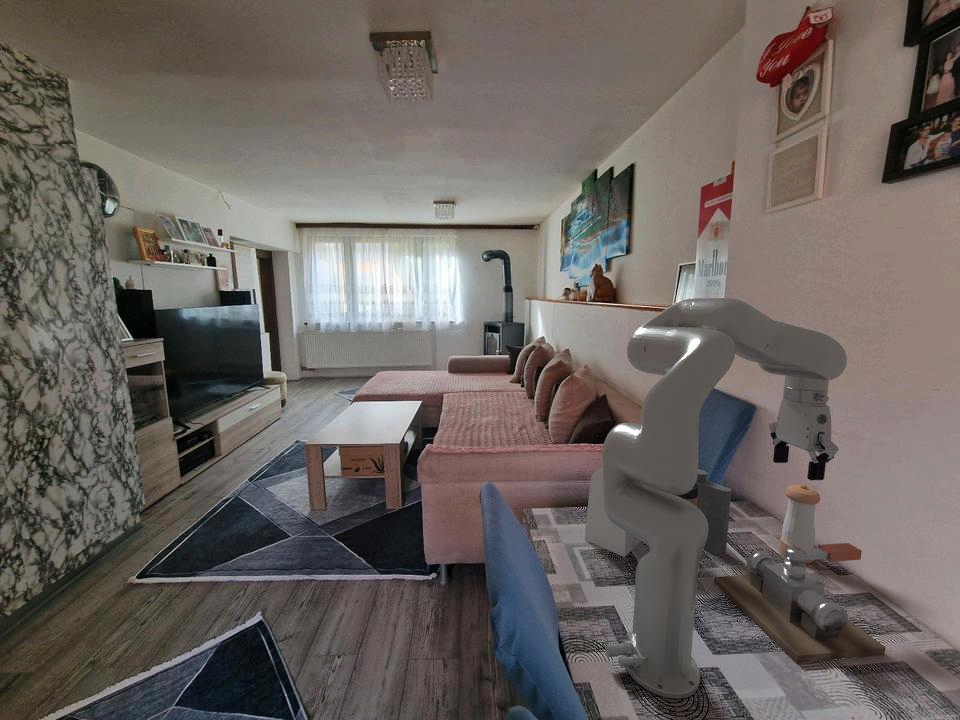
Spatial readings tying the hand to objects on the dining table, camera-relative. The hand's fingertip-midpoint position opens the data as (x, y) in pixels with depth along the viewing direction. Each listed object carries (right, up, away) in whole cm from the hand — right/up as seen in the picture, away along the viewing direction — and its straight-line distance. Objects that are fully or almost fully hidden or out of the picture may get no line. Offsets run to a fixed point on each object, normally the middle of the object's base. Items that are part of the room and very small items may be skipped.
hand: (797, 470), depth 92 cm
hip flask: (-12, -25, +21) cm, 35 cm away
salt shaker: (+11, -26, +15) cm, 32 cm away
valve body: (-7, -27, -7) cm, 28 cm away
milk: (-34, -25, +21) cm, 47 cm away
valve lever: (-1, -17, -7) cm, 18 cm away
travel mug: (-21, -26, +13) cm, 36 cm away
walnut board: (-7, -28, -6) cm, 30 cm away
